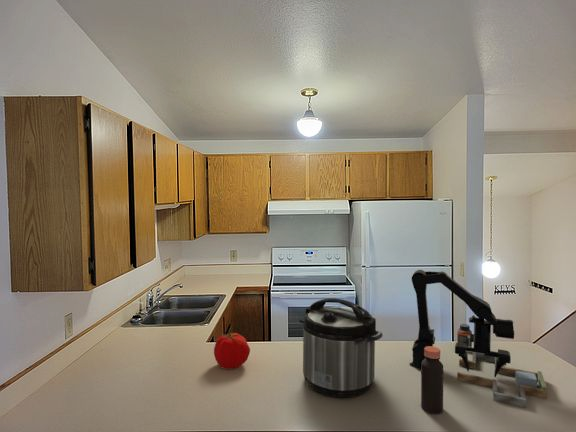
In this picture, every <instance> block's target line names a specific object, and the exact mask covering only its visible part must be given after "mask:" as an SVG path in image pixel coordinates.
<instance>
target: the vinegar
mask: <svg viewBox="0 0 576 432" xmlns="http://www.w3.org/2000/svg"><path fill="white" fill-rule="evenodd" d="M424 355H425V359H424V360H423V361H422V362H421V369H420V371H421V374H420V379H421V381H420V385H421V386H420V387H421V388H420V389H421V391H420V395H421V396H420V406H421V409H422V410H423V411H424V412H427V413H429V414H432V415H438V414H442V412H443V411H444V364H443V362H441V361H440V359H441V349H440V348H439V347H436V346H434V345H433V346H427V347H425V348H424Z"/></svg>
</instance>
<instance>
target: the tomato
mask: <svg viewBox="0 0 576 432" xmlns="http://www.w3.org/2000/svg"><path fill="white" fill-rule="evenodd" d="M220 335H221V336H219V337H218V338H217V340H216V341H215V344H214V348H213V355H214V358H215V361H216V363H217V365H218V366H219V367H220V368H222V369H226V370H231V369H238V368H240V367H242V365H244V363H246V362H247V361H248V360H249V359H248V358H249V356H250V352H251V348H250V345H249V343H248V341H247V339H246V338H245V337H244V336H242V335H241V334H239V333H237V332H230V333H228V334H222V333H220Z"/></svg>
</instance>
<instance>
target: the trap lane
mask: <svg viewBox="0 0 576 432" xmlns="http://www.w3.org/2000/svg"><path fill="white" fill-rule="evenodd" d="M496 359H497V357H492V356H486V355H481V354H475V353H472V360H469V359H468V364H469V368H470V369H474V370H475V369H476V367H477V366H476V361H478V360H479V361H482V362H487V363H493V364H494V367H495V366H496ZM458 365H459V366H460V367H462V368H463V367H464V368H466V366H465V363H464V361H463V359H462V358H459V359H458ZM516 371H521V372H527V373H533V374H535V376H536V379H537V385H538V387H539V388H538V387H537V388H534V387H529V386H524V385H519V387H518V392H519V396H515V395H510V394H506V393H501V392H498V383H497V382H498V381H497V379H492V378H489V377H483V376H479V375H478V376H477V375H474V374H469V373H465V372H464V373H463V372H458V371H456V372H457V373H456V378H457V379H456V380H457V381H460V382H461V381H462V382H464V383H465V382H466V383H471V384H476V385H479V386H484V387H489V388H492V394H493V395H492V398H493V401H495V402H499V403H504V404H507V405H511V406H512V405H513V406H517V407H521V408H525V409H526V408H527V397H526V395H528V396H533V397H537V398H542V399H548V387H547V384H546V382H545V381H546V380H545V378H544V375H543V372H542V371H539V370H537V372H536V371H535V372H534V371H528V370H523V369H518V368H512V367H508V366H507V367H506V366H502V367H501V368H500V370H499V372H498V374H502V375H506V376H513V377H515V373H516Z"/></svg>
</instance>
